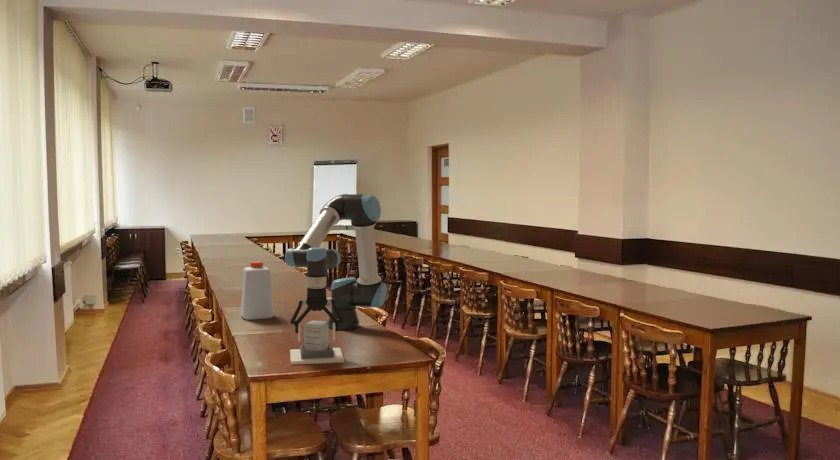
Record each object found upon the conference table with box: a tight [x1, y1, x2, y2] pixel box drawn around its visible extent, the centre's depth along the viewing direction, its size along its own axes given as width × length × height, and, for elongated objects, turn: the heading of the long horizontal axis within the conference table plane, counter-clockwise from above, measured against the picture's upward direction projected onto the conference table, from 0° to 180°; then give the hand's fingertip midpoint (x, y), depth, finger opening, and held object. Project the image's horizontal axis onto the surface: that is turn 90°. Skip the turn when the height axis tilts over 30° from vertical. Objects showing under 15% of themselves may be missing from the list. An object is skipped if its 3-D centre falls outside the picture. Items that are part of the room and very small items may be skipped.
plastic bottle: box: [240, 261, 274, 321], centre depth 329 cm, size 15×15×28 cm
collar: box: [299, 343, 334, 359], centre depth 255 cm, size 12×12×2 cm
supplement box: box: [303, 320, 329, 352], centre depth 255 cm, size 7×7×13 cm
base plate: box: [289, 347, 345, 366], centre depth 255 cm, size 18×20×1 cm
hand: (316, 340), depth 255 cm, fingers open, 13 cm apart
